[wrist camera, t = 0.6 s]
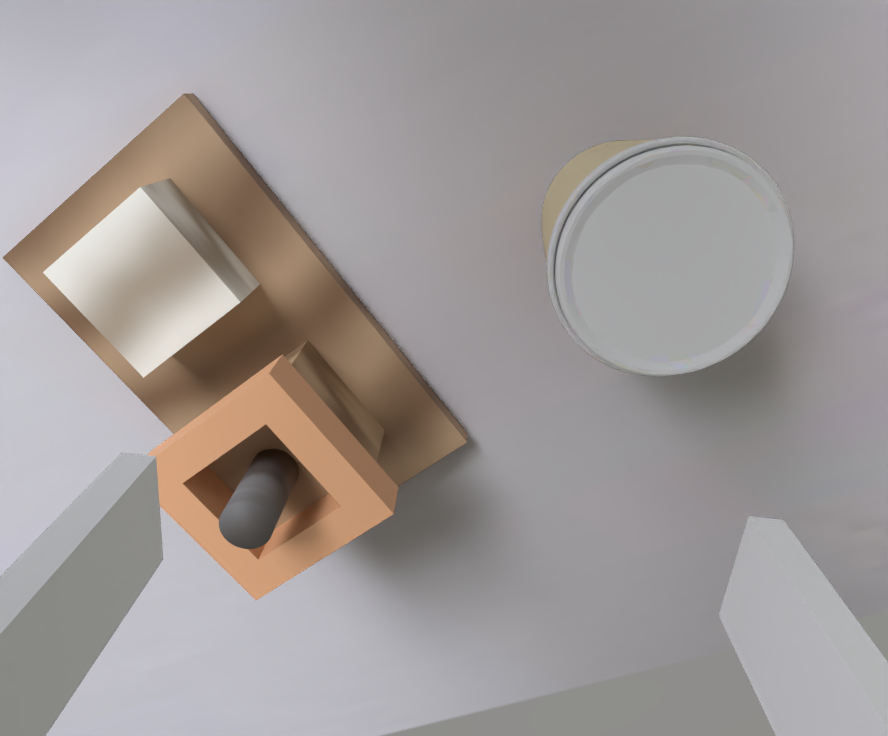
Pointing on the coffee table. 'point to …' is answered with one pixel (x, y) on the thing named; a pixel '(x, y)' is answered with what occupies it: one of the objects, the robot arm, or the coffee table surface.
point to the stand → (225, 312)
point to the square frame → (313, 443)
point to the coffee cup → (665, 252)
